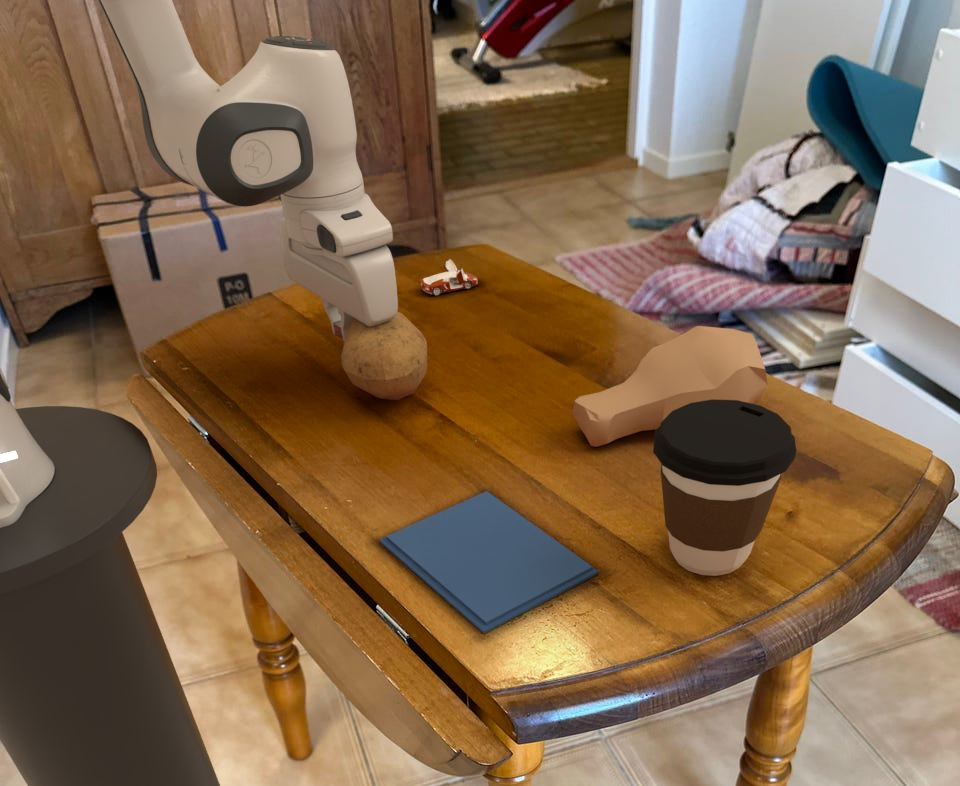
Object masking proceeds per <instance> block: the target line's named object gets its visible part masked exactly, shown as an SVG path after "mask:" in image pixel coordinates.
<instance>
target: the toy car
mask: <svg viewBox="0 0 960 786" xmlns="http://www.w3.org/2000/svg"><path fill="white" fill-rule="evenodd" d="M442 267H443V268H444V269H445V272H439V273H437V274H434V275H433V274H432V275H430V276H429V275H428V276H425V277H423V278H421V279H420V280H419V281H420V285H419V286H420V287H421V289H422V291H423V292H425V293H426V294H430V295H433V296H436V297H437V296H440V294H443V293H449V292H455V291H459V290H464V289H466V290H471V289H472V287H475V286H478V284H479V282H478V280H479V278H478V277H477V276H476V275H474V274H472V273H470V272H466V271H464V269H463V268H461V269H458V268H457V266H456V264H455V262H454V261H453V260H452V259H451V258H449V259H445V262H444V263H443V266H442Z"/></svg>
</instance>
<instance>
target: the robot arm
mask: <svg viewBox="0 0 960 786" xmlns="http://www.w3.org/2000/svg"><path fill="white" fill-rule="evenodd" d="M97 1H98V3H99V5H100V7H101V9H102V12H103V14H104V16H105V18H106V20H107V23H108V25H109V26H110V29H111V32H112V33H113V36H114V38H115V40H116V42H117V44H118V47H119V48H120V51H121V53H122V55H123V56H124V59H125V61H126V63H127V66H128V68H129V70H130V72H131V75H132V77H133V80H134V82H135V85H136V88H137V92H138V96H139V102H140V110H141V119H142V124H143V132H144V137H145V140H146V144H147V147H148V149H149V151H150V154H151V155H152V157H153V158H154V160H155V162H156V163H157V164H158V166H159V167H160V168H161V169H162V170H163V171H164V172H165V173H166V174H168V176H170V177H172V178H173V179H174V180H176V181H178V182H180V183H182V184H186V185H189V186H192V187H195V188H197V189H198V190H200V191H202V192H204V193H206V194H207V195H210V196H212V197H214V198H216V199H217V200H220V201H222V202H223V203H226V204H229V205H232V206H237V207H253V206H257V205H260V204H263V203H266V202H267V201H270V200H272V199H275V198H277V197H279V196H280V201H281V207H282V214H283V216H282V217H281V218H280V220H279V224H278V225H279V226H278V229H279V230H278V232H279V241H280V248H281V249H280V250H281V255H282V262H283V268H284V270H285V272H286V275H287V277H288V278H289V280H290V281H292V282H294V283H296V284H297V285H298V286H301V287H302V288H304V289H305V290H307V291H309V292H310V293H312V294H314V295H316V296H317V297H318V298H320V299H321V303H322V306H323V308H324V311H325V313H326V315H327V317H328V319H329V321H330V325H331V330H332V334H333V335H335V336H336V337H337V338H339V339H341V340H342V341H344V342H345V340H346V336H347V332H348V330H349V327H350V325H351V323H352V321H353V320H354V318H355V319H357V320H359V321H360V322H362V323H363V324H365V325H367V326H369V327H373V326H376V325H380V324H383V323H385V322H388V321H391V320H393V319H394V318H395V315H396V313H397V311H398V309H399V300H398V299H399V298H398V287H397V277H396V276H397V275H396V269H395V263H394V258H393V255H392V252H391V250H390V248H389V246H387V244H390V243H392V242H393V240H394V234H393V227H392V224H391V222H390V221H389V220H388V218H387V217H386V216H385V215H384V214H383V213H382V212H381V211H380V210H379V209H378V208H377V207H376V205H375V203H373V202H374V201H372V199H371V197H370V196H369V194H367V193H366V192H365V184H364V178H363V173H362V171H361V169H360V166H359V163H358V160H357V141H358V132H357V126H356V125H357V124H356V118H355V117H356V116H355V110H354V105H353V99H352V94H351V90H350V89H351V88H350V84H349V80H348V77H347V72H346V69H345V66H344V63H343V60H342V58H341V56H340V54H339V53H338V51H337V50H336V49H335V48H333V47H332V45H330V44H328V43H326V42H324V41H321V40H318V39H313V38H304V37H301V36H289V35H288V36H287V35H277V36H269V37H267V38H265V39H262V40H261V41H260V42H259V45H258V47H257V49H256V52H255V53H254V54H253V56H252V57H251V58H250V60H249V61H247V63H246V64H245V65H244V66H243V67H242V68H241V69H240V71H238V72H237V73H236V74H235V75H234V76H233V77H232V78H230V79H229V80H228V81H226V82H225V83H224V84H221V85H219V83H217V82H216V81H215V80H214V79H213V78H212V77H210V75H208V73H207V72H206V71H205V70H204V68H203V67H202V66H201V64H200V62H198V60H197V58H196V56H195V54H194V52H193V48H192V46H191V44H190V42H189V39H188V36H187V34H186V32H185V29H184V26H183V24H182V21H181V19H180V17H179V14H178V12H177V10H176V7H175V5H174V2H173V0H97ZM9 389H10V386H9V385H8V381H7V380H6V378H5V375H4V373H3V370H2V368H1V367H0V528H1V527H5V526H8V525H11V524H13V523H14V522H16V521H17V520H18V519H19V517H20V516H21V514H22V513H23V511H24V509H25V507H26V506H27V505H28V504H29V503H30V502H31V501H32V500H33V499H35V498H36V497H37V496H38V495H39V494H41V493H42V492H43V491H44V490H45V489H46V487H47V486H48V485H49V484H50V482H51V480H52V478H53V476H54V472H55V467H54V464H53V462H52V460H51V459H50V458H49V457H48V456H47V455H46V454H45V453H44V451H43V450H42V449H41V448H40V446H39V445H38V444H37V442H36V441H35V440H34V438H33V437H32V435H31V434H30V432H29V431H28V429H27V428H26V426H25V425H24V423H23V421H22V420H21V418H20V416H19V415H18V413H17V411H16V410H15V409H16V408H15V406H14V404H13V402H12V396H11V393H10V391H9Z"/></svg>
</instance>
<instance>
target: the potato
mask: <svg viewBox="0 0 960 786" xmlns="http://www.w3.org/2000/svg"><path fill="white" fill-rule="evenodd" d="M340 359H341V366H342V368H343V371H344V372H345V374H346V375H347V377H348V380H349V381H350V382H351V384H352V385H353V386H355V387H357V388H358V389H361V390H362V391H364V392H366V393H368V394H370V395H371V396H373V397H375V398H377V399H381V400H390V401H399V400H402V399H403V398H406V397H407V396H410V395H413V394H414V393H415V392H416V391H417V389H418V388H419V386H420V384H421V383H422V381H423V380H424V378H425V376H426V375H427V370H428V341H427V340H426V338H425V336H424V335H423V333H422V331H420V330H419V329H418V328H417V327H416V326H415V325H414V324H413V323H412V322H411V321H410V319H408V317H406V316H405V314H403V313H402V312H399V311H398V310H397V313H396V315H395V318H394V319H393V320H391V321H388V322H385V323H383V324H380V325H376V326H373V327H369V326H367V325H365V324H363V323H362V322H360V321H359V320H357V319H355V318H354V320H353V321H352V323H351V325H350V327H349V330H348V332H347V336H346V340H345V341H344V342H343V346H342V350H341V354H340Z"/></svg>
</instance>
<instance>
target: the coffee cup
mask: <svg viewBox="0 0 960 786" xmlns="http://www.w3.org/2000/svg"><path fill="white" fill-rule="evenodd" d="M652 452H653V454H654V455H655V457H656V458H657V459H658V461H659V463H660V479H661V490H662V502H663V512H664V514H663V515H664V524H665V528H666V529H667V531H668V532H667V534H668V542H669V544H668V545H669V550H670V552H671V554H672V556H673V558H674V560H675V561H676V563H677V564H678V565H679V566H681V567H682V568H683V569H685V570H687V571H688V572H691V573H695V574H698V575H700V576H711V577H718V576H723V575H727V574H728V575H729V574H731V573H733V572H734V571H736V570H738V569H740V568H741V566H742V565H743V564H744V563H745V562H746V560H747V559H748V558H749V556H750V555H751V553H752V550H753V547H754V544H755V542H756V540H757V538H758V537H759V535H760V533H761V532H762V530H763V527H764V525H765V522H766V519H767V517H768V514H769V512H770V509H771V506H772V503H773V501H774V499H775V495H776V493H777V490H778V488H779V485H780V483H781V480H782V474H783V473H785V472H787V470H788V469H789V467H790V466H791V465H792V463H793V462H794V461H795V459H796V456H797V443H796V437H795V435H793V433H792V427H791V426H790V425H789V423H787V422H786V421H785V419H784V418H783V417H782V416H780V414H778V413H777V412H774V411H773V410H770V409H769V408H766V407H764V406H762V405H760V404H757V403H755V404H752V403H747V402H743V401H738V400H716V399H712V400H706V401H700V402H694V403H689V404H687V405H685V406H682V407H680V408H678V409H676V410H673V411H672V412H671V413H670V414H669V415H668V416H667V417H666V418H665V419H664V420H663V421H662V422H661V425H660V427H659V428H658V429H655V430H654V436H653V449H652Z"/></svg>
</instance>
